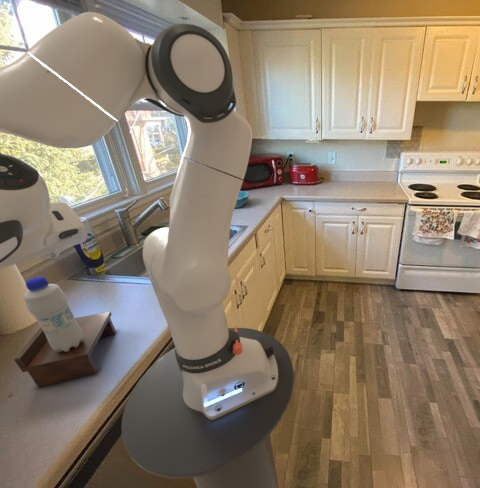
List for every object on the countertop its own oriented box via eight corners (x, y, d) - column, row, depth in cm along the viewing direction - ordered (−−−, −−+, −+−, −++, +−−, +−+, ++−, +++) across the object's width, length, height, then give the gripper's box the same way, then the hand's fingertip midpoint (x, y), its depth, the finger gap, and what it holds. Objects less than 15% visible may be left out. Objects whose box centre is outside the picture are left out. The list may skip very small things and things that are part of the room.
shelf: (118, 329, 86) (107, 303, 81) (97, 374, 71) (82, 345, 67) (67, 340, 82) (52, 312, 78) (34, 389, 68) (13, 359, 63)
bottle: (46, 351, 69) (5, 283, 60) (76, 333, 75) (42, 268, 66) (64, 358, 67) (25, 289, 58) (93, 338, 73) (61, 273, 64)
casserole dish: (192, 209, 189) (189, 199, 186) (207, 199, 209) (205, 190, 206) (244, 210, 186) (243, 199, 183) (255, 200, 206) (253, 190, 203)
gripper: (-72, 272, 39) (-47, 305, 48) (94, 224, 55) (90, 256, 64) (-98, 237, 40) (-69, 276, 48) (75, 199, 55) (73, 234, 64)
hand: (23, 264), depth 56 cm, fingers open, 8 cm apart
